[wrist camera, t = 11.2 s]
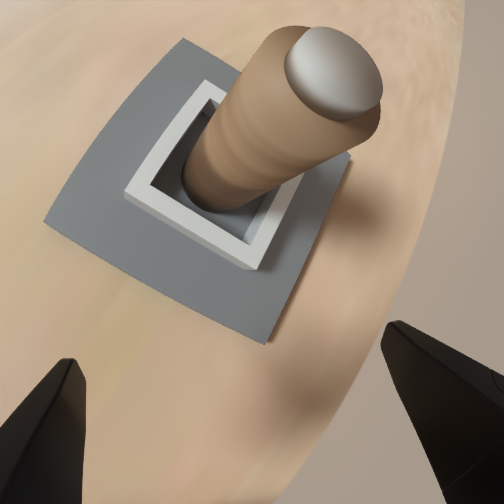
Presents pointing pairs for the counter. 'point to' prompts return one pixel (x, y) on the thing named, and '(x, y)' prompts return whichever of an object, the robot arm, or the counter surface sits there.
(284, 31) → the mill
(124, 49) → the counter surface
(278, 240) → the grey square frame plate
